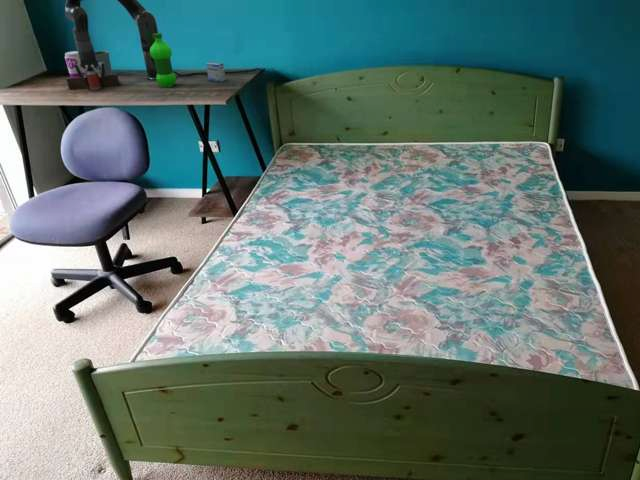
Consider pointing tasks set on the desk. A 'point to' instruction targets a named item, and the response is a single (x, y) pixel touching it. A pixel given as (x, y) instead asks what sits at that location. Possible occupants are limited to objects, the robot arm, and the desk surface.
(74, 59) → the supplement can
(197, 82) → the desk surface
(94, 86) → the tin can
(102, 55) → the grey cup
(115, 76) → the wooden wall
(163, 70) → the plastic bottle
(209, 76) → the medicine box
